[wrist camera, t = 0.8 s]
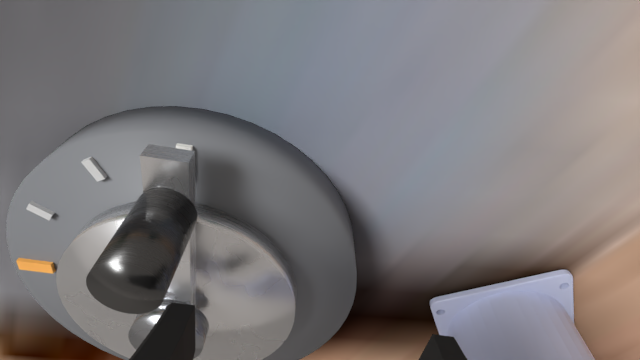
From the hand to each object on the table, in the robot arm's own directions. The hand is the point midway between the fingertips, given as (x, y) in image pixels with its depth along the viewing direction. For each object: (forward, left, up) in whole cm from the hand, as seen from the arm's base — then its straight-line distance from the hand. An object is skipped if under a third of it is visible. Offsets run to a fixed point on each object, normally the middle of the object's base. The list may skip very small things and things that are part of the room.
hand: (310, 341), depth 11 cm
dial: (-1, +7, -7) cm, 10 cm away
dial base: (-3, +8, -9) cm, 13 cm away
